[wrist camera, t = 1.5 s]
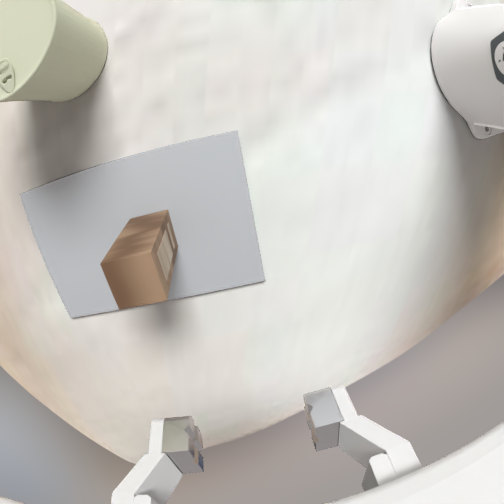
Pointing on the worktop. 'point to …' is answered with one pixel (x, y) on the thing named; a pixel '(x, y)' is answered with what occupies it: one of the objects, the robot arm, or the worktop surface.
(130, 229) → the brown box
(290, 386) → the worktop surface
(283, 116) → the worktop surface
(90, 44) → the can
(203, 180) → the grey mat
